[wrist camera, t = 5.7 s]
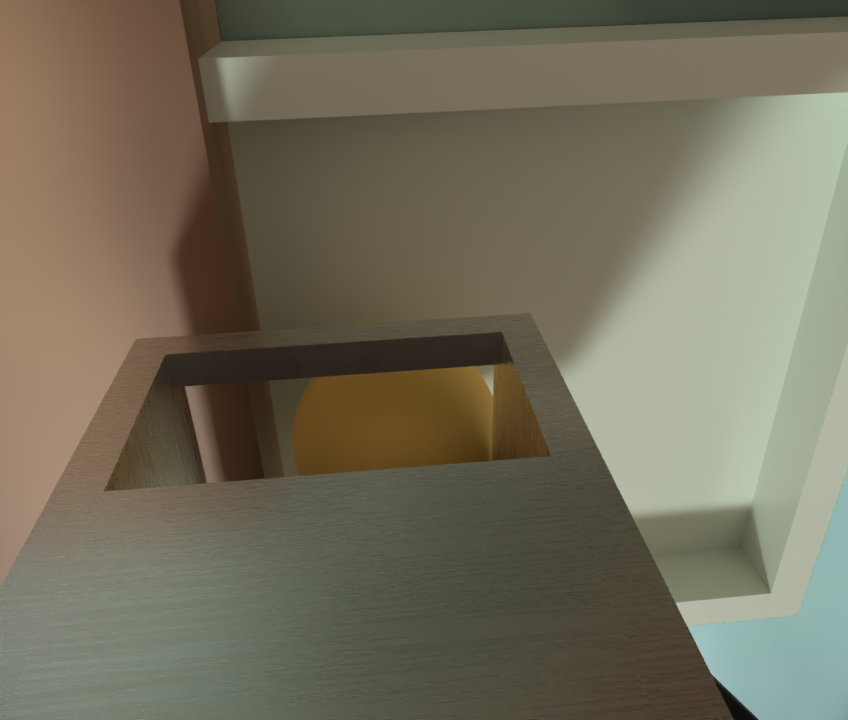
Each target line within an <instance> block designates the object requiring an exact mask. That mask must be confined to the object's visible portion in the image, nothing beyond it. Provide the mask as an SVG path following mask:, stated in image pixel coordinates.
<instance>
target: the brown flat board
mask: <svg viewBox="0 0 848 720" xmlns="http://www.w3.org/2000/svg"><path fill="white" fill-rule="evenodd" d="M220 42H221V37H220V30H219V24H218V18H217V11H216V5H215V0H0V587H1V585H2V584H3V582H4V580H5V578H6V576H7V574H8V573H9V571H10V569H11V567H12V565H13V563H14V561H15V560H16V558H17V556H18V554H19V552H20V550H21V549H22V547H23V545H24V543H25V541H26V539H27V538H28V536H29V534H30V532H31V530H32V528H33V527H34V525H35V523H36V521H37V519H38V517H39V516H40V514H41V512H42V510H43V508H44V506H45V505H46V503H47V501H48V499H49V497H50V495H51V493H52V492H53V490H54V488H55V486H56V484H57V482H58V481H59V479H60V477H61V475H62V473H63V471H64V470H65V468H66V466H67V464H68V462H69V460H70V459H71V457H72V455H73V453H74V451H75V449H76V448H77V446H78V444H79V442H80V440H81V438H82V437H83V435H84V433H85V431H86V429H87V427H88V426H89V424H90V422H91V420H92V418H93V416H94V414H95V413H96V411H97V409H98V407H99V405H100V403H101V402H102V400H103V398H104V396H105V394H106V392H107V391H108V389H109V387H110V385H111V383H112V381H113V380H114V378H115V376H116V374H117V372H118V370H119V369H120V367H121V365H122V363H123V361H124V359H125V358H126V356H127V354H128V352H129V350H130V348H131V346H132V345H133V343H134V341H135V339H141V338H157V337H172V336H187V335H202V334H218V333H233V332H248V331H261V330H260V324H259V317H258V311H257V305H256V299H255V292H254V286H253V280H252V274H251V267H250V261H249V255H248V249H247V242H246V236H245V230H244V224H243V217H242V211H241V205H240V199H239V193H238V186H237V180H236V174H235V168H234V161H233V155H232V149H231V143H230V136H229V130H228V124H227V122H213V123H209V120H208V114H207V108H206V103H205V97H204V91H203V85H202V79H201V74H200V68H199V62H198V58H200V57H201V56H202V55H204V54H205V53H206V52H208V51H209V50H210V49H212V48H213V47H214V46H216V45H217V44H218V43H220ZM185 389H186V393H187V398H188V402H189V407H190V411H191V415H192V420H193V424H194V428H195V433H196V437H197V441H198V446H199V450H200V455H201V459H202V463H203V468H204V472H205V476H206V481H207V483H217V482H229V481H242V480H255V479H267V478H280V477H284V473H283V467H282V461H281V455H280V448H279V442H278V436H277V430H276V423H275V417H274V411H273V405H272V399H271V392H270V386H269V381H255V382H241V383H227V384H212V385H198V386H185Z"/></svg>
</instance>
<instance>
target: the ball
mask: <svg viewBox="0 0 848 720" xmlns="http://www.w3.org/2000/svg"><path fill="white" fill-rule="evenodd" d="M492 420H493V396H492V394H491V391H490V389H489V387H488V386H487V384H486V382H485V381H484V379H483V378H482V376H481V375H480V374H479V372H478V371H477V370H476V369H475V368H474V367H473V366H470V367H455V368H441V369H427V370H412V371H398V372H384V373H370V374H355V375H341V376H327V377H312V378H311V379H310V380H309V382H308V384H307V386H306V387H305V389H304V391H303V393H302V395H301V397H300V400H299V403H298V406H297V409H296V412H295V416H294V422H293V430H292V446H293V456H294V461H295V465H296V468H297V471H298V474H299V476H305V475H318V474H331V473H343V472H356V471H369V470H381V469H394V468H407V467H419V466H432V465H445V464H457V463H470V462H483V461H491V459H492Z"/></svg>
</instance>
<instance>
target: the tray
mask: <svg viewBox="0 0 848 720" xmlns="http://www.w3.org/2000/svg"><path fill="white" fill-rule="evenodd" d="M198 62H199V68H200V74H201V79H202V85H203V91H204V97H205V103H206V108H207V114H208V120H209V123H213V122H227V124H228V130H229V136H230V143H231V149H232V155H233V161H234V168H235V174H236V180H237V186H238V193H239V199H240V205H241V211H242V217H243V224H244V230H245V236H246V242H247V249H248V255H249V261H250V267H251V274H252V280H253V286H254V292H255V299H256V305H257V311H258V317H259V324H260V330H261V331H264V330H279V329H294V328H309V327H325V326H340V325H355V324H370V323H386V322H401V321H416V320H432V319H447V318H462V317H477V316H493V315H508V314H523V313H531V315H532V317H533V319H534V321H535V323H536V325H537V327H538V329H539V331H540V333H541V335H542V337H543V339H544V341H545V343H546V345H547V347H548V349H549V351H550V353H551V355H552V357H553V359H554V361H555V363H556V365H557V367H558V369H559V371H560V373H561V375H562V377H563V379H564V381H565V383H566V385H567V387H568V389H569V391H570V393H571V395H572V397H573V399H574V401H575V403H576V405H577V407H578V409H579V411H580V413H581V415H582V417H583V419H584V421H585V423H586V425H587V427H588V429H589V431H590V433H591V435H592V437H593V439H594V441H595V443H596V445H597V447H598V449H599V451H600V453H601V455H602V457H603V459H604V461H605V463H606V465H607V467H608V469H609V471H610V473H611V475H612V477H613V479H614V481H615V483H616V485H617V487H618V489H619V491H620V493H621V495H622V497H623V499H624V501H625V503H626V505H627V507H628V509H629V511H630V513H631V515H632V517H633V519H634V521H635V523H636V525H637V527H638V529H639V531H640V533H641V535H642V537H643V539H644V541H645V543H646V545H647V547H648V549H649V551H650V553H651V555H652V557H653V559H654V561H655V563H656V565H657V567H658V569H659V571H660V573H661V575H662V577H663V579H664V581H665V583H666V585H667V587H668V589H669V591H670V593H671V595H672V597H673V599H674V601H675V603H676V605H677V607H678V609H679V611H680V613H681V615H682V617H683V619H684V621H685V623H686V625H687V626H694V625H704V624H714V623H724V622H734V621H744V620H755V619H765V618H775V617H785V616H795V615H798V613H799V610H800V607H801V604H802V601H803V598H804V595H805V592H806V589H807V586H808V583H809V580H810V578H811V575H812V572H813V569H814V566H815V563H816V560H817V557H818V554H819V551H820V548H821V545H822V542H823V539H824V537H825V534H826V531H827V528H828V525H829V522H830V519H831V516H832V513H833V510H834V507H835V504H836V501H837V498H838V496H839V493H840V490H841V487H842V484H843V481H844V478H845V475H846V472H847V469H848V16H841V17H816V18H791V19H766V20H741V21H716V22H691V23H666V24H642V25H617V26H592V27H567V28H542V29H517V30H492V31H467V32H442V33H417V34H392V35H367V36H342V37H317V38H292V39H267V40H242V41H221V42H220V43H218V44H217V45H216V46H214V47H213V48H212V49H210V50H209V51H208V52H206V53H205V54H204V55H202V56H201V57H200V58H198ZM473 367H474V368H475V369H476V370H477V371H478V372H479V374H480V375H481V376H482V378H483V379H484V381H485V382H486V384H487V386H488V387H489V389H490V391H491V394H492V396H493V381H494V365H484V366H473ZM310 379H311V378H298V379H284V380H270V381H269V386H270V392H271V399H272V405H273V411H274V417H275V423H276V430H277V436H278V442H279V448H280V455H281V461H282V467H283V473H284V477H293V476H299V474H298V471H297V468H296V465H295V461H294V456H293V446H292V430H293V422H294V416H295V412H296V409H297V406H298V403H299V400H300V397H301V395H302V393H303V391H304V389H305V387H306V386H307V384H308V382H309V380H310Z"/></svg>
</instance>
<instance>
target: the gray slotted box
mask: <svg viewBox="0 0 848 720" xmlns="http://www.w3.org/2000/svg"><path fill="white" fill-rule="evenodd" d="M484 365H494V381H493V420H492V459H491V461H483V462H470V463H457V464H445V465H432V466H419V467H407V468H394V469H381V470H369V471H356V472H343V473H331V474H318V475H305V476H293V477H280V478H267V479H255V480H242V481H229V482H217V483H207V481H206V476H205V472H204V468H203V463H202V459H201V455H200V450H199V446H198V441H197V437H196V433H195V428H194V424H193V420H192V415H191V411H190V407H189V402H188V398H187V393H186V389H185V386H198V385H212V384H227V383H241V382H255V381H270V380H284V379H298V378H312V377H327V376H341V375H355V374H370V373H384V372H398V371H412V370H427V369H441V368H455V367H470V366H484ZM0 720H734V719H733V717H732V715H731V713H730V711H729V709H728V707H727V705H726V703H725V701H724V699H723V697H722V695H721V693H720V691H719V689H718V687H717V685H716V683H715V681H714V679H713V677H712V675H711V673H710V671H709V669H708V667H707V665H706V663H705V661H704V659H703V657H702V655H701V653H700V651H699V649H698V647H697V645H696V643H695V641H694V639H693V637H692V635H691V633H690V631H689V629H688V627H687V625H686V623H685V621H684V619H683V617H682V615H681V613H680V611H679V609H678V607H677V605H676V603H675V601H674V599H673V597H672V595H671V593H670V591H669V589H668V587H667V585H666V583H665V581H664V579H663V577H662V575H661V573H660V571H659V569H658V567H657V565H656V563H655V561H654V559H653V557H652V555H651V553H650V551H649V549H648V547H647V545H646V543H645V541H644V539H643V537H642V535H641V533H640V531H639V529H638V527H637V525H636V523H635V521H634V519H633V517H632V515H631V513H630V511H629V509H628V507H627V505H626V503H625V501H624V499H623V497H622V495H621V493H620V491H619V489H618V487H617V485H616V483H615V481H614V479H613V477H612V475H611V473H610V471H609V469H608V467H607V465H606V463H605V461H604V459H603V457H602V455H601V453H600V451H599V449H598V447H597V445H596V443H595V441H594V439H593V437H592V435H591V433H590V431H589V429H588V427H587V425H586V423H585V421H584V419H583V417H582V415H581V413H580V411H579V409H578V407H577V405H576V403H575V401H574V399H573V397H572V395H571V393H570V391H569V389H568V387H567V385H566V383H565V381H564V379H563V377H562V375H561V373H560V371H559V369H558V367H557V365H556V363H555V361H554V359H553V357H552V355H551V353H550V351H549V349H548V347H547V345H546V343H545V341H544V339H543V337H542V335H541V333H540V331H539V329H538V327H537V325H536V323H535V321H534V319H533V317H532V315H531V313H523V314H508V315H493V316H477V317H462V318H447V319H432V320H416V321H401V322H386V323H370V324H355V325H340V326H325V327H309V328H294V329H279V330H264V331H248V332H233V333H218V334H202V335H187V336H172V337H157V338H141V339H135V341H134V343H133V345H132V346H131V348H130V350H129V352H128V354H127V356H126V358H125V359H124V361H123V363H122V365H121V367H120V369H119V370H118V372H117V374H116V376H115V378H114V380H113V381H112V383H111V385H110V387H109V389H108V391H107V392H106V394H105V396H104V398H103V400H102V402H101V403H100V405H99V407H98V409H97V411H96V413H95V414H94V416H93V418H92V420H91V422H90V424H89V426H88V427H87V429H86V431H85V433H84V435H83V437H82V438H81V440H80V442H79V444H78V446H77V448H76V449H75V451H74V453H73V455H72V457H71V459H70V460H69V462H68V464H67V466H66V468H65V470H64V471H63V473H62V475H61V477H60V479H59V481H58V482H57V484H56V486H55V488H54V490H53V492H52V493H51V495H50V497H49V499H48V501H47V503H46V505H45V506H44V508H43V510H42V512H41V514H40V516H39V517H38V519H37V521H36V523H35V525H34V527H33V528H32V530H31V532H30V534H29V536H28V538H27V539H26V541H25V543H24V545H23V547H22V549H21V550H20V552H19V554H18V556H17V558H16V560H15V561H14V563H13V565H12V567H11V569H10V571H9V573H8V574H7V576H6V578H5V580H4V582H3V584H2V585H1V587H0Z"/></svg>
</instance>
